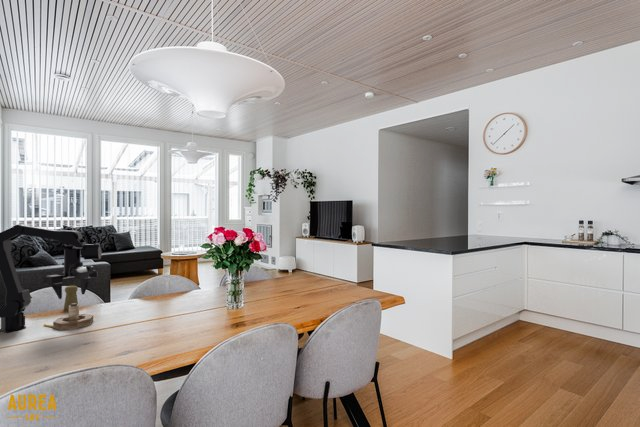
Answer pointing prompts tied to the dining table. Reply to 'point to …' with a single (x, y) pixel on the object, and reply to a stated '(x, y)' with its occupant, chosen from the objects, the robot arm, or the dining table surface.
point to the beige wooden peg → (73, 312)
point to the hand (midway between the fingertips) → (71, 296)
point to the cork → (70, 296)
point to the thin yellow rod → (48, 325)
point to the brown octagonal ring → (72, 322)
